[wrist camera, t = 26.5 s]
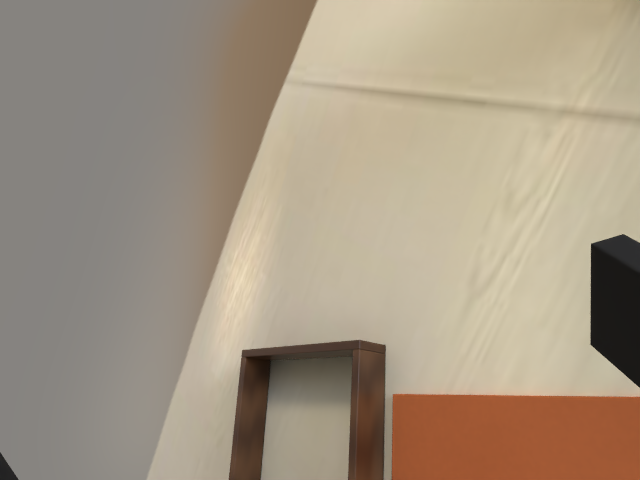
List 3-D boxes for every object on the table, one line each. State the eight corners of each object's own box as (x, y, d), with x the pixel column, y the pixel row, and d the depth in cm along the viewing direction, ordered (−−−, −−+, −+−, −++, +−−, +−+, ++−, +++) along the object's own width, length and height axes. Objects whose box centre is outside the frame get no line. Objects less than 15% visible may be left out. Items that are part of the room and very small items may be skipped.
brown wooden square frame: (267, 353, 60) (241, 350, 57) (385, 345, 47) (359, 339, 45) (251, 526, 54) (223, 529, 52) (382, 567, 42) (352, 574, 39)
